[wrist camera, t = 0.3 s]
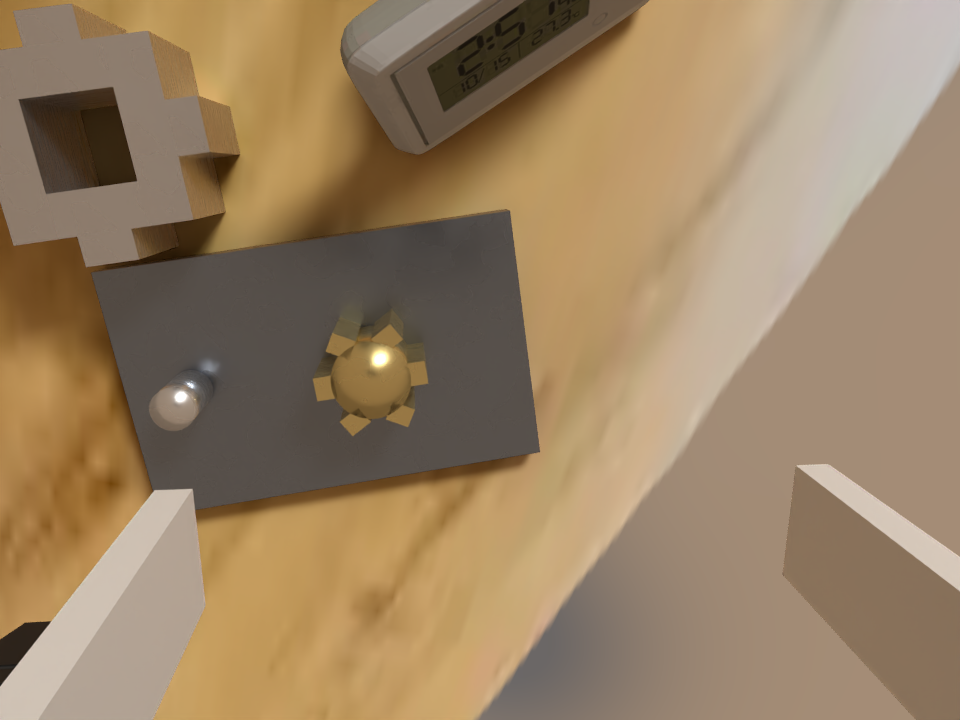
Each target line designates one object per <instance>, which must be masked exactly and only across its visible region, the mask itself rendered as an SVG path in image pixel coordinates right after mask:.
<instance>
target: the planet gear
mask: <svg viewBox="0 0 960 720" xmlns="http://www.w3.org/2000/svg"><path fill="white" fill-rule="evenodd" d="M13 13H14V16H15V20H16V23H17V27H18V30H19V34H20V37H21V41H22V44H23V47H19V48H11V49H4V50H0V203H1V206H2V209H3V213H4V216H5V219H6V222H7V226H8V229H9V232H10V235H11V239H12V242H13V245H14V246H16V245H23V244H30V243H36V242H43V241H50V240H57V239H64V238H71V237H77V238H78V241H79V245H80V248H81V252H82V255H83V259H84V262H85V266H86V267H91V266H98V265H105V264H111V263H118V262H125V261H132V260H139V259H142V258H145V257H148V256H151V255H154V254H157V253H160V252H163V251H166V250H169V249H172V248H175V247H178V246H179V243H178V239H177V235H176V231H175V227H174V222H181V221H188V220H194V219H199V218H203V217H207V216H212V215H216V214H220V213H224V212H225V208H224V203H223V199H222V195H221V190H220V186H219V182H218V177H217V173H216V168H215V164H214V160H213V158H220V157H227V156H234V155H240V152H239V148H238V143H237V139H236V134H235V129H234V125H233V120H232V116H231V111H230V107H229V106H226V105H223V104H220V103H217V102H214V101H211V100H209V99H206V98H203V97H200V96H199V94H198V90H197V85H196V81H195V76H194V72H193V68H192V63H191V59H190V55H189V52H187V51H185V50H183V49H181V48H179V47H178V46H176V45H174V44H172V43H170V42H168V41H166V40H164V39H163V38H161V37H159V36H157V35H155V34H153V33H151V32H149V31H142V32H135V33H127V34H126V30H124V29H122V28H120V27H118V26H116V25H114V24H112V23H110V22H108V21H106V20H104V19H102V18H100V17H98V16H96V15H94V14H92V13H90V12H88V11H86V10H84V9H82V8H80V7H78V6H76V5H73V4H64V5H57V6H49V7H41V8H33V9H25V10H17V11H13ZM116 105H118V108H119V112H120V115H121V119H122V123H123V127H124V131H125V135H126V139H127V143H128V147H129V150H130V154H131V158H132V162H133V166H134V170H135V174H136V178H137V181H135V182H128V183H121V184H114V185H107V186H100V184H99V180H98V176H97V173H96V169H95V165H94V162H93V158H92V154H91V151H90V147H89V143H88V139H87V136H86V132H85V128H84V125H83V121H82V117H81V114H80V110H86V109H94V108H101V107H108V106H116Z"/></svg>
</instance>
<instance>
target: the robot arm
mask: <svg viewBox="0 0 960 720" xmlns="http://www.w3.org/2000/svg"><path fill="white" fill-rule="evenodd" d="M783 576H784V577H785V578H786V579H787V580H788V581H789V582H790V583H791V584H792V586H793V587H794V588H795V589H796V590H797V591H798V592H799V593H800V594H801V595H802V596H803V597H804V599H805V600H806V601H807V602H808V603H809V604H810V605H811V606H812V607H813V608H814V609H815V611H816V612H817V613H818V614H819V615H820V616H821V617H822V618H823V619H824V620H825V621H826V622H827V624H828V625H829V626H830V627H831V628H832V629H833V630H834V631H835V632H836V633H837V634H838V635H839V636H840V638H841V639H842V640H843V641H844V642H845V643H846V644H847V645H848V646H849V647H850V649H851V650H852V651H853V652H854V653H855V654H856V655H857V656H858V657H859V658H860V659H861V660H862V662H863V663H864V664H865V665H866V666H867V667H868V668H869V669H870V670H871V671H872V672H873V674H874V675H875V676H876V677H877V678H878V679H879V680H880V681H881V682H882V683H883V684H884V686H885V687H886V688H887V689H888V690H889V691H890V692H891V693H892V694H893V695H894V696H895V697H896V699H897V700H898V701H899V702H900V703H901V704H902V705H903V706H904V707H905V708H906V709H907V710H908V712H909V713H910V714H911V715H912V716H913V717H914V718H915V719H916V720H960V557H959V556H958V555H956V554H955V553H953V552H952V551H951V550H949V549H947V548H946V547H945V546H943V545H942V544H941V543H939V542H938V541H936V540H935V539H934V538H932V537H931V536H929V535H928V534H926V533H925V532H924V531H922V530H921V529H919V528H918V527H917V526H915V525H914V524H912V523H911V522H910V521H908V520H907V519H905V518H904V517H902V516H901V515H900V514H898V513H897V512H895V511H894V510H893V509H891V508H890V507H888V506H887V505H885V504H884V503H883V502H881V501H880V500H878V499H877V498H875V497H874V496H873V495H871V494H870V493H868V492H867V491H866V490H864V489H863V488H861V487H860V486H858V485H857V484H856V483H854V482H853V481H851V480H850V479H849V478H847V477H846V476H844V475H843V474H841V473H840V472H839V471H837V470H835V469H834V468H833V467H832V466H830V465H829V464H820V465H796V469H795V476H794V485H793V493H792V502H791V509H790V517H789V526H788V534H787V542H786V550H785V559H784V567H783ZM204 608H205V596H204V587H203V578H202V569H201V560H200V551H199V542H198V533H197V523H196V514H195V505H194V496H193V489H176V490H154V492H153V493H152V494H151V495H150V497H149V498H148V499H147V500H146V502H145V503H144V504H143V506H142V507H141V508H140V509H139V511H138V512H137V513H136V514H135V516H134V517H133V518H132V520H131V521H130V522H129V523H128V525H127V526H126V527H125V528H124V530H123V531H122V532H121V534H120V535H119V536H118V537H117V539H116V540H115V541H114V542H113V544H112V545H111V546H110V548H109V549H108V550H107V551H106V553H105V554H104V555H103V556H102V558H101V559H100V560H99V562H98V563H97V564H96V565H95V567H94V568H93V569H92V570H91V572H90V573H89V574H88V576H87V577H86V578H85V579H84V581H83V582H82V583H81V584H80V586H79V587H78V588H77V590H76V591H75V592H74V593H73V595H72V596H71V597H70V598H69V600H68V601H67V602H66V604H65V605H64V606H63V607H62V609H61V610H60V611H59V612H58V614H57V615H56V616H55V618H54V619H53V620H52V621H48V622H30V623H24V624H23V625H21V626H20V627H18V628H17V629H15V630H14V631H12V632H11V633H9V634H8V635H6V636H5V637H3V638H2V639H0V720H153V718H154V716H155V714H156V711H157V709H158V707H159V705H160V703H161V701H162V698H163V696H164V694H165V692H166V690H167V688H168V685H169V683H170V681H171V679H172V677H173V675H174V673H175V670H176V668H177V666H178V664H179V662H180V660H181V657H182V655H183V653H184V651H185V649H186V647H187V644H188V642H189V640H190V638H191V636H192V634H193V631H194V629H195V627H196V625H197V623H198V621H199V618H200V616H201V614H202V612H203V610H204Z"/></svg>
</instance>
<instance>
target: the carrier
mask: <svg viewBox="0 0 960 720" xmlns="http://www.w3.org/2000/svg"><path fill="white" fill-rule="evenodd" d="M91 274H92V277H93V281H94V285H95V288H96V292H97V295H98V299H99V302H100V306H101V309H102V313H103V316H104V320H105V323H106V327H107V330H108V334H109V337H110V341H111V345H112V348H113V352H114V355H115V359H116V362H117V366H118V369H119V373H120V376H121V380H122V383H123V387H124V390H125V394H126V397H127V401H128V405H129V408H130V412H131V415H132V419H133V422H134V426H135V429H136V433H137V436H138V440H139V443H140V447H141V450H142V454H143V457H144V461H145V465H146V468H147V472H148V475H149V479H150V482H151V486H152V489H153V492H154V490H176V489H193V496H194V505H195V510H197V509H203V508H209V507H215V506H221V505H227V504H233V503H239V502H245V501H251V500H257V499H263V498H269V497H275V496H281V495H287V494H293V493H299V492H305V491H311V490H317V489H322V488H328V487H334V486H340V485H346V484H352V483H358V482H364V481H370V480H376V479H382V478H388V477H394V476H400V475H406V474H412V473H418V472H424V471H430V470H436V469H442V468H448V467H454V466H460V465H466V464H472V463H478V462H484V461H490V460H496V459H501V458H507V457H513V456H519V455H525V454H531V453H537V452H540V448H539V440H538V432H537V424H536V416H535V408H534V400H533V392H532V384H531V376H530V368H529V360H528V352H527V344H526V336H525V328H524V320H523V312H522V304H521V296H520V288H519V280H518V272H517V264H516V256H515V248H514V240H513V232H512V224H511V216H510V211H509V210H507V209H504V210H497V211H491V212H484V213H477V214H470V215H464V216H457V217H450V218H443V219H436V220H430V221H423V222H416V223H409V224H403V225H396V226H389V227H382V228H376V229H369V230H362V231H355V232H349V233H342V234H335V235H328V236H321V237H315V238H308V239H301V240H294V241H288V242H281V243H274V244H267V245H261V246H254V247H247V248H240V249H234V250H227V251H220V252H213V253H207V254H200V255H193V256H186V257H179V258H173V259H166V260H159V261H152V262H146V263H139V264H132V265H125V266H119V267H112V268H105V269H101V270H98V271H95V272H92V273H91Z"/></svg>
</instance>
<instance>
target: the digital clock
mask: <svg viewBox="0 0 960 720" xmlns="http://www.w3.org/2000/svg"><path fill="white" fill-rule="evenodd" d="M648 1H649V0H378V1H377V2H376V3H374V4H373V5H371V6H370V7H369V8H367V9H366V10H365V11H363V12H362V13H360V14H359V15H358V16H356V17H355V18H354V19H353V20H352V21H351V22H350V23H349V24H348V25H347V26H346V28H345V29H344V33H343V36H342V40H341V49H340V51H341V57H342V61H343V64H344V66H345V69H346V71H347V73H348V74H349V76H350V78H351V80H352V82H353V83H354V85H355V87H356V88H357V90H358V91H359V93H360V94H361V96H362V97H363V99H364V101H365V102H366V104H367V105H368V107H369V108H370V110H371V111H372V113H373V114H374V116H375V118H376V119H377V121H378V122H379V124H380V125H381V127H382V128H383V130H384V131H385V133H386V135H387V136H388V138H389V139H390V141H391V142H392V144H393V145H394V146H395V148H397V149H398V150H401V151H405V152H408V153H412V154H417V155H419V154H423V153H425V152H427V151H428V150H430V149H432V148H433V147H435V146H436V145H438V144H439V143H441V142H442V141H444V140H445V139H447V138H449V137H450V136H452V135H453V134H455V133H456V132H458V131H459V130H461V129H462V128H464V127H465V126H467V125H468V124H469V123H471V122H472V121H474V120H475V119H477V118H478V117H480V116H481V115H483V114H484V113H486V112H487V111H489V110H490V109H492V108H493V107H495V106H496V105H498V104H499V103H501V102H502V101H504V100H505V99H507V98H508V97H510V96H511V95H512V94H514V93H515V92H517V91H518V90H520V89H521V88H523V87H524V86H526V85H527V84H529V83H530V82H532V81H533V80H535V79H536V78H538V77H539V76H541V75H542V74H544V73H545V72H547V71H548V70H550V69H551V68H553V67H554V66H555V65H557V64H558V63H560V62H561V61H563V60H564V59H566V58H567V57H569V56H570V55H572V54H573V53H575V52H576V51H578V50H579V49H581V48H582V47H584V46H585V45H587V44H588V43H590V42H591V41H593V40H594V39H596V38H597V37H598V36H600V35H601V34H603V33H604V32H606V31H607V30H609V29H610V28H612V27H613V26H615V25H616V24H618V23H619V22H621V21H622V20H623V19H625V18H626V17H628V16H629V15H631V14H632V13H634V12H635V11H636V10H638V9H639V8H641V7H642V6H643V5H645V4H646V3H647V2H648Z"/></svg>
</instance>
